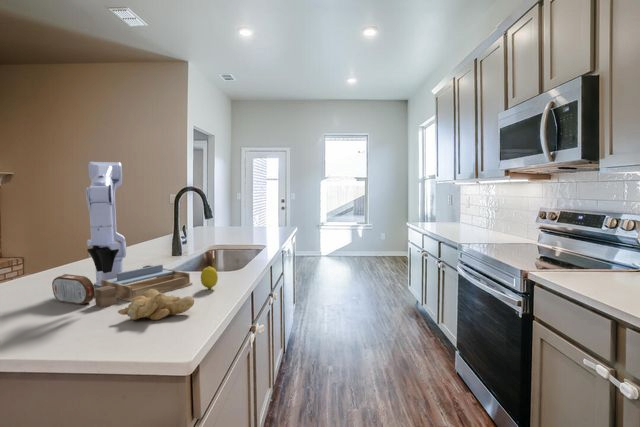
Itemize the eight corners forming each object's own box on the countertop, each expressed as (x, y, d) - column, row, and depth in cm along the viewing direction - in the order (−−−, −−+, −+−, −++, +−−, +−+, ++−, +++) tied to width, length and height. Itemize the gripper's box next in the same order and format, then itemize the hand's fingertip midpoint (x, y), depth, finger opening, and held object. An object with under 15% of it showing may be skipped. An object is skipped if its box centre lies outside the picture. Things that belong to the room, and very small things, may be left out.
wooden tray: (99, 292, 120) (99, 280, 120) (161, 278, 139) (161, 267, 139) (130, 301, 110) (129, 288, 110) (192, 284, 129) (191, 273, 129)
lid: (105, 282, 120) (105, 273, 120) (159, 270, 137) (159, 262, 137) (119, 285, 116) (118, 276, 116) (173, 273, 132) (172, 264, 132)
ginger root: (109, 313, 96) (116, 283, 97) (166, 311, 108) (171, 285, 109) (134, 329, 86) (141, 296, 87) (193, 326, 98) (199, 296, 99)
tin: (96, 303, 109) (94, 276, 108) (86, 306, 106) (85, 278, 105) (61, 299, 114) (59, 272, 113) (50, 302, 111) (49, 275, 110)
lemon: (213, 291, 119) (212, 268, 119) (197, 291, 121) (197, 267, 120) (220, 287, 125) (220, 264, 124) (206, 286, 126) (205, 264, 125)
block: (95, 305, 107) (94, 288, 107) (109, 301, 111) (108, 285, 110) (102, 307, 105) (101, 290, 105) (116, 303, 108) (115, 287, 108)
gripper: (75, 226, 107) (78, 271, 108) (99, 228, 99) (102, 277, 100) (100, 224, 113) (102, 267, 114) (125, 226, 105) (127, 272, 106)
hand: (104, 271), depth 107 cm, fingers open, 3 cm apart
